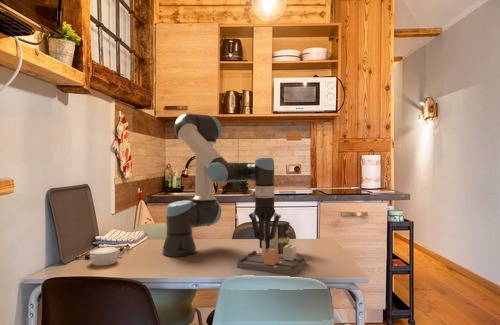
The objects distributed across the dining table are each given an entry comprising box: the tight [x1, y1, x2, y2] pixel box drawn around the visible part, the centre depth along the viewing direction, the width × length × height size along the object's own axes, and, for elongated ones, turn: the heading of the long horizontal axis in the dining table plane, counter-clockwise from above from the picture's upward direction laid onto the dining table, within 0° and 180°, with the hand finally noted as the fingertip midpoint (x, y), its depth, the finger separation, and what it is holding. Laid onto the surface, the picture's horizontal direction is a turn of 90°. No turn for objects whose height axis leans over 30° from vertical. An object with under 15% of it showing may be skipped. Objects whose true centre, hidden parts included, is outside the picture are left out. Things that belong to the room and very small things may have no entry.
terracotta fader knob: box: [264, 248, 278, 265], centre depth 134 cm, size 4×5×5 cm
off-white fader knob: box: [283, 244, 297, 261], centre depth 140 cm, size 4×5×5 cm
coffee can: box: [270, 220, 290, 256], centre depth 158 cm, size 10×10×14 cm
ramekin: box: [89, 246, 120, 267], centre depth 142 cm, size 11×11×5 cm
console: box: [236, 250, 307, 276], centre depth 139 cm, size 24×17×3 cm
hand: (264, 256), depth 135 cm, fingers closed
